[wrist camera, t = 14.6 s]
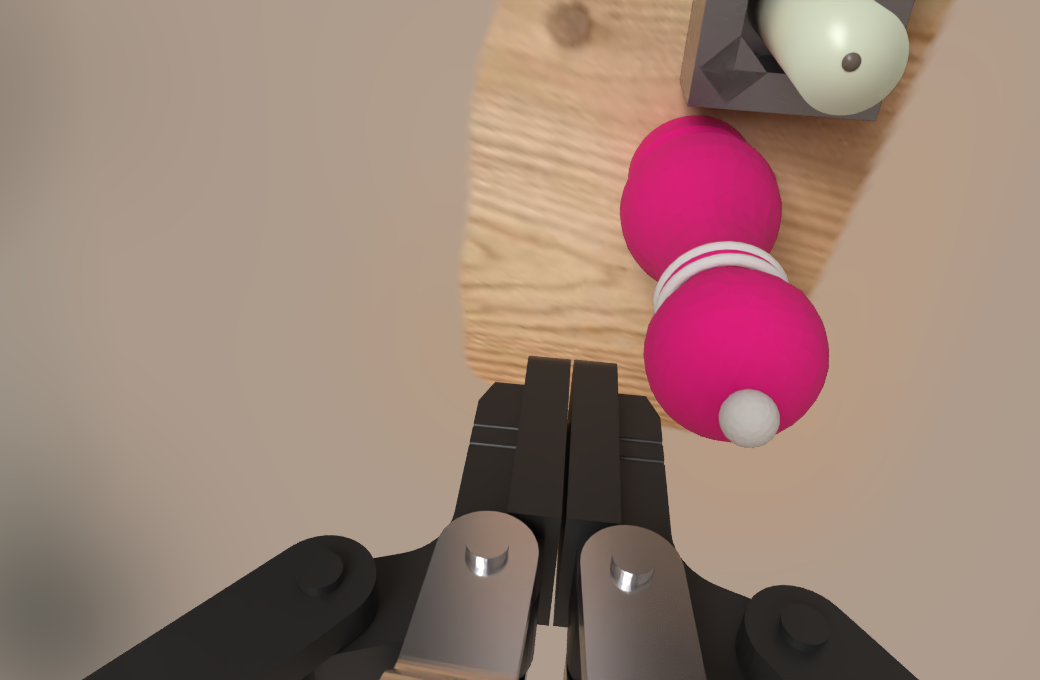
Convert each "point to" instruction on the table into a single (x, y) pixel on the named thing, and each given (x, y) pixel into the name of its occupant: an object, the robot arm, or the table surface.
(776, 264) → the pepper mill
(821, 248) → the table surface
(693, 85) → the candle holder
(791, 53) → the candle
